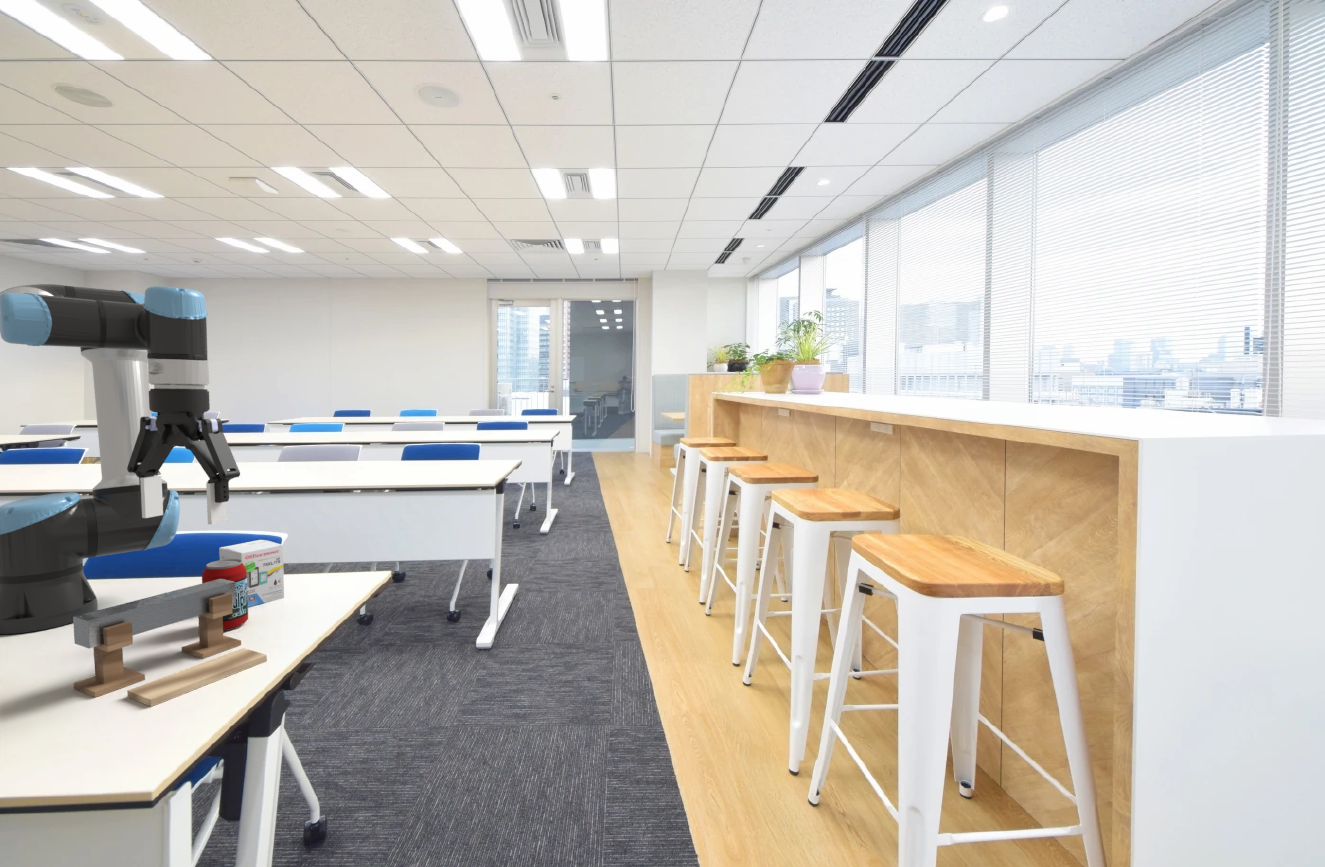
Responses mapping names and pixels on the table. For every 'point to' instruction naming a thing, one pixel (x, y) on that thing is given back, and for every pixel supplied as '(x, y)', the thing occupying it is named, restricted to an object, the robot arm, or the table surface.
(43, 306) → the robot arm
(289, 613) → the table surface
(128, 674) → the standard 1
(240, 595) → the beverage can
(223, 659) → the light wooden board
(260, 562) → the ink box
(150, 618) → the rail
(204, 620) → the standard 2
